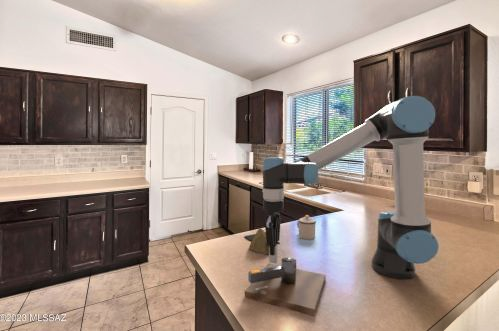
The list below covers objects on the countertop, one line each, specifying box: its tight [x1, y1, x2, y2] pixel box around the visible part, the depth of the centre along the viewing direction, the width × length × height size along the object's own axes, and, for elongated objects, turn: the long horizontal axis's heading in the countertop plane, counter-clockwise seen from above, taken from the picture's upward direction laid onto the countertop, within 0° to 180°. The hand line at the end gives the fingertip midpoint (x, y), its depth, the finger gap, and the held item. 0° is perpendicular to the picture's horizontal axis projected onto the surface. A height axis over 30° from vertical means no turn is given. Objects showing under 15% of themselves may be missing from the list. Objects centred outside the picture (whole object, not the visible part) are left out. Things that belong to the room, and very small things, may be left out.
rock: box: [248, 228, 269, 255], centre depth 119 cm, size 11×9×10 cm
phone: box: [243, 231, 266, 242], centre depth 139 cm, size 7×1×15 cm
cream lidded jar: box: [296, 214, 316, 240], centre depth 141 cm, size 12×9×12 cm
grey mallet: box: [247, 256, 297, 284], centre depth 87 cm, size 17×5×8 cm, turn 112°
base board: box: [244, 262, 326, 317], centre depth 89 cm, size 22×22×2 cm
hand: (273, 262), depth 97 cm, fingers closed
